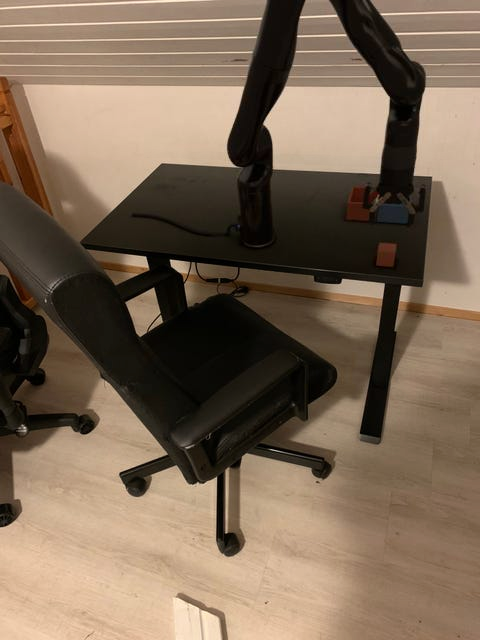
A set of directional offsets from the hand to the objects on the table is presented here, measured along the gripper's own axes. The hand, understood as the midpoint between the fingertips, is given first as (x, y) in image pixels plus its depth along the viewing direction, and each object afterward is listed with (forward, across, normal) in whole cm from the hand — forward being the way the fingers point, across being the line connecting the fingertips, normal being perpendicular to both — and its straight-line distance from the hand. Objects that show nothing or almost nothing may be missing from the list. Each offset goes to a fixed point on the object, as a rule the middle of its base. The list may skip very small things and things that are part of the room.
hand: (390, 224), depth 117 cm
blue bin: (+11, 0, +26) cm, 29 cm away
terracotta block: (+11, 0, 0) cm, 11 cm away
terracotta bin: (+11, -9, +27) cm, 30 cm away
